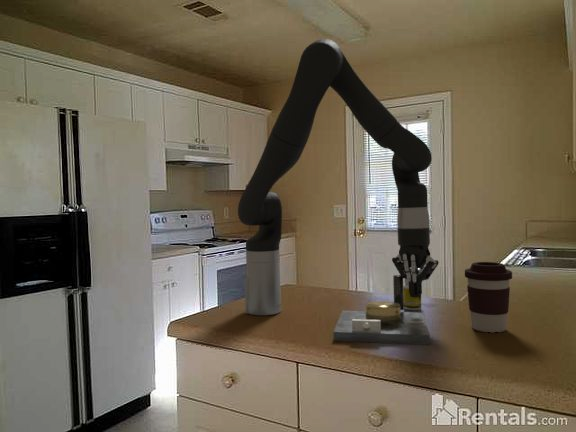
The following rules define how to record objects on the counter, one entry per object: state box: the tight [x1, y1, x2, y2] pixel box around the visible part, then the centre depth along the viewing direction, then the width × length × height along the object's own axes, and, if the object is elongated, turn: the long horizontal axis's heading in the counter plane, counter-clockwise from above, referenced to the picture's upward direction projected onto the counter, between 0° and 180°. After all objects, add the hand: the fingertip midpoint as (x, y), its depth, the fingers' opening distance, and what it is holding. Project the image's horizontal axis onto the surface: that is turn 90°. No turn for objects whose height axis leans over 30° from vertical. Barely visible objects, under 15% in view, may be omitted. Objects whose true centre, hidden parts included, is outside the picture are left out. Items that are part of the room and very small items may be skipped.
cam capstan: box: [365, 274, 405, 323], centre depth 110 cm, size 15×8×8 cm, turn 145°
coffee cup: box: [464, 261, 513, 334], centre depth 105 cm, size 10×10×15 cm
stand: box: [333, 310, 431, 346], centre depth 106 cm, size 20×19×4 cm
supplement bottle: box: [403, 278, 422, 311], centre depth 126 cm, size 5×5×8 cm
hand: (415, 296), depth 112 cm, fingers closed
